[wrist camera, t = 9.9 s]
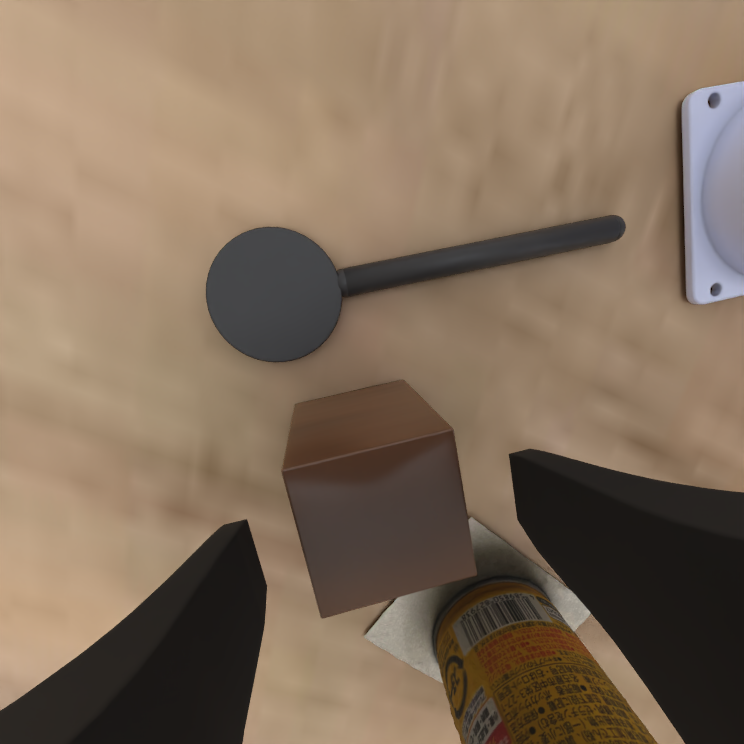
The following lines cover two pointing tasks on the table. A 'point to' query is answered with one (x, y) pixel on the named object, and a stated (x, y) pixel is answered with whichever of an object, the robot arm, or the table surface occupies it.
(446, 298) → the table surface
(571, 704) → the condiment
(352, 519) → the walnut block
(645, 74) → the table surface
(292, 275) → the serving spoon
